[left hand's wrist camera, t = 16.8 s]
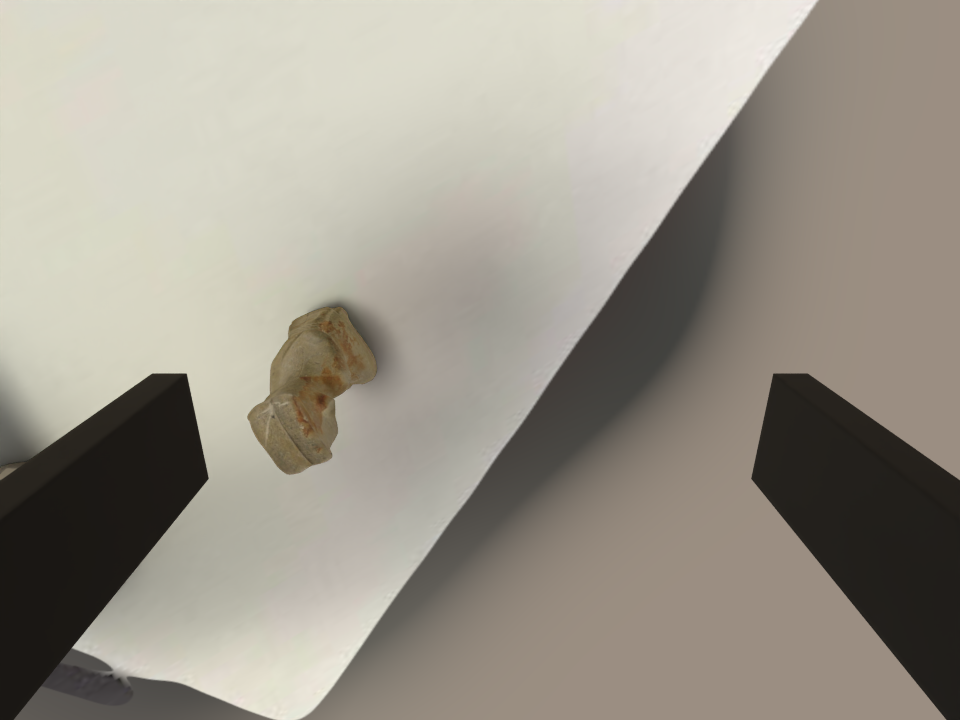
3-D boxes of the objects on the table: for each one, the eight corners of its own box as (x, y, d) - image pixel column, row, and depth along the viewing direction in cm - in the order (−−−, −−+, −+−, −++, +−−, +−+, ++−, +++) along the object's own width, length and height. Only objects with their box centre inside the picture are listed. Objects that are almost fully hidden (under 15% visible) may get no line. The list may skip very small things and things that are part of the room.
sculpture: (327, 390, 47) (263, 494, 33) (289, 313, 45) (202, 390, 31) (390, 368, 46) (352, 465, 32) (355, 289, 44) (296, 357, 30)
